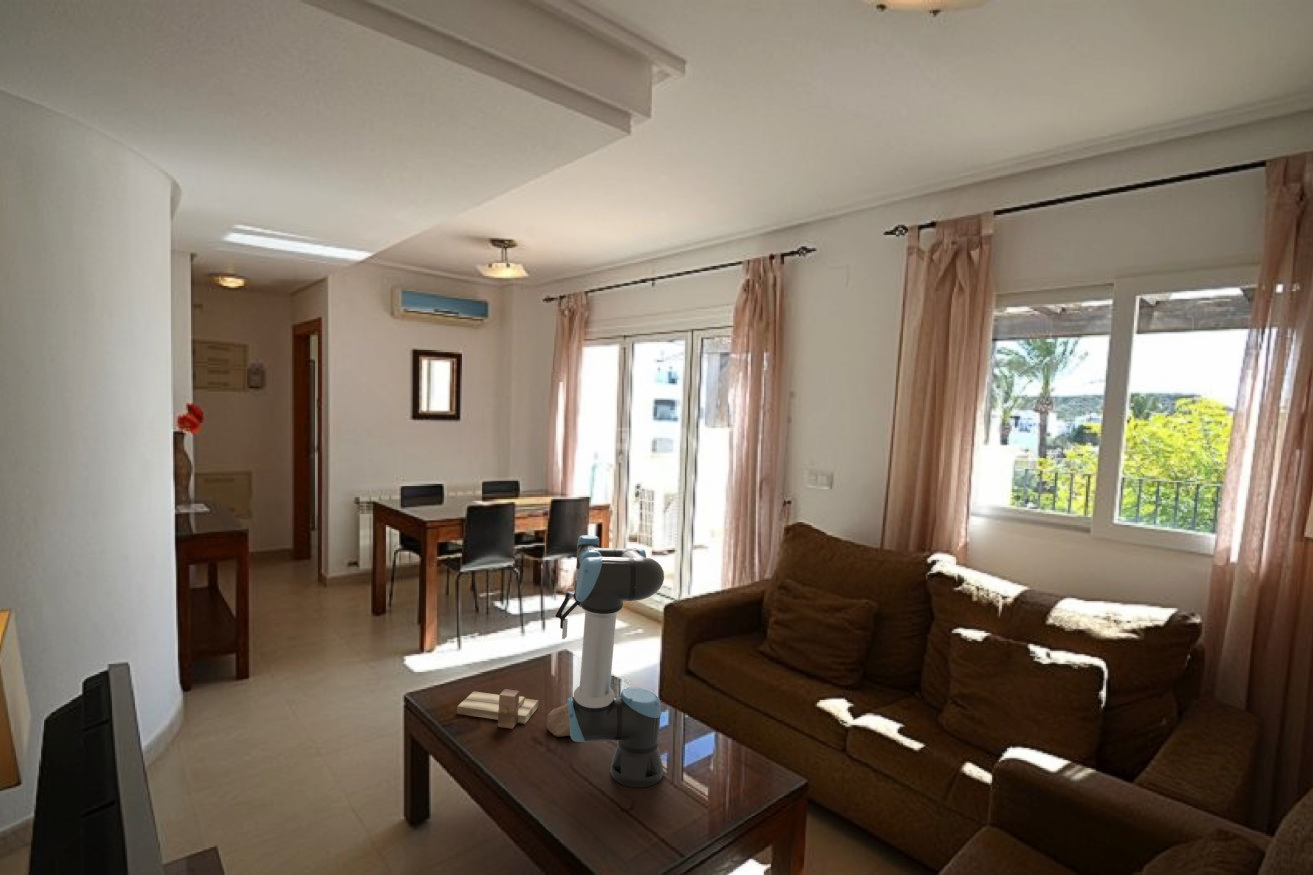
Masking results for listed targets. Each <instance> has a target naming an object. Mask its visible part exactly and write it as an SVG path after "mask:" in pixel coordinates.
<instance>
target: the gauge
mask: <svg viewBox="0 0 1313 875" xmlns="http://www.w3.org/2000/svg"><path fill="white" fill-rule="evenodd" d="M498 695H499V712H498V720H497V727H498V728H502V729H503V728H505V729H510V730H513V729H514V728H515V727H516V725H517V724H519V723H518V708H519V707H520V706H521V705H522V704H523V702H524V701H525V699H526V697H525V696H522V695H520V690H516V689H514V690H513V689H507V688H505V689H503V690H502V691H501V693H499V694H498Z"/></svg>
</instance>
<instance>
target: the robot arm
mask: <svg viewBox="0 0 1313 875" xmlns="http://www.w3.org/2000/svg"><path fill="white" fill-rule="evenodd" d="M576 547H577V548H576V564H575V565H576V566H575V567H576V568H575V579H576V580H575V582H574V584H575V585H574V592H572V591H570V590H568V591H567V592H566V593H565V595H564V600H563V601H562V603H561V605H560V607H559V608H558V610H557V612H556V614H555V617H556V618H558V619H559V620H560V623H559V625H560V626H559V627H560V629H561V630H562V631H561V633H562V634H561V635H562V637H561V640H565V639H566V638H567V637H568V636H567V635H568V624H569V622H568V621H569V618H567V616H568V615H570V614H571V612H573V611H574V610H575V609H576V607H578V606H579V607H580V608H581V609H582V610H583V611H584V624H583V635H582V651H581V652H582V653H581V663H580V664H581V665H580V676H579V686H577V687H576V689H574V691H573V696H571V697H568V698H567V703H568V711H569V724H570V736H569V737H570V739H571V740H572V741H573V742H577V743H579V742H580V743H588V742H592V743H593V742H608V741H609V742H611V741H618V742H617V746H616V750H615V752H614V754H613V756H612V759H611V762H610V775H611V777H612V779H613V780H615V781H616V782H617V783H619V784H621V785H623V786H625V787H629V788H639V789H640V788H647V787H651V786H654V785H656V784H658V782H660V781H661V780H662V778H663V774H664V765H663V761H662V757H661V756H662V755H661V752H660V748H659V740H660V725H661V724H660V723H661V716H662V712H661V700H660V698H659V697H658V695H657V694H656V693H654V692H652V691H650V690H648V689H646V688H641V687H635V686H634V687H633V686H632V687H627V688H623V689H622V690H621V692H620V695H616V694H615V692H614V689H612V687H611V682H612V681H611V680H612V670H613V669H612V668H613V657H614V648H615V647H614V644H615V634H616V633H615V632H616V621H617V614H618V613H620V611H622V610H623V606H624V605H623V604H624V602H637V601H642V600H646V599H648V598H651V597H652V596H654V595H655V594H656V593H657V592H658V591H659V590H660V589H661V588H662V586H663V584H664V580H665V572H664V570H663V566H662V565H661V564H660V563H659V562H658V561H657V560H655V559H653V558H650V557H647V553H646V550H644V549H643V548H637V547H636V548H613V547H612V548H611V547H600V537H599V536H597V535H591V534H589V535H588V534H587V535H586V534H583V535H580V536H578V539H577V544H576ZM572 598H573V599H574V603H573V604H571V606H570V607H568V609H567V610H566V611H565V612H564V610H565V608H566V607H567V606H568V604H569V602H570V600H571V599H572ZM563 612H564V613H563Z"/></svg>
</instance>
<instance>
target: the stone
mask: <svg viewBox="0 0 1313 875" xmlns="http://www.w3.org/2000/svg"><path fill="white" fill-rule="evenodd" d="M546 728H547V730H548V731H549V732H550V733H551V734H552V735H553V736H555V737H568V736H569V737H571V736H570V724H569V711H568V702H567V703H566V704H563V705H562V706H558V707H556V708H554V709H552V710H551V711H550V712H549V713H548V714H547V718H546Z"/></svg>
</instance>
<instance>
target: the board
mask: <svg viewBox="0 0 1313 875" xmlns="http://www.w3.org/2000/svg"><path fill="white" fill-rule="evenodd" d="M499 695H500V694H496V693H489V692H488V693H487V692H481V691H475V690H474V691H472V692H471V693H470V694H469V695H467V697H466V698H465V699H464V700H462V701H461V702H460V703H459V704H458V705H457V709H456V714H457V715H462V716H463V715H464V716H468V717H469V716H471V717H478V718H485V719H491V720H497V721H498V712H499ZM538 708H539V700H538V699H531V698H525V701H524V702H523V704H522V705H521V706H520V707H519V708H518V723H517V724H524V725H525V724H526V723H527V722H528V721H529V719H530V718H531V717H532V716H533V715H534V713H535V712H536V710H537V709H538Z"/></svg>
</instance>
